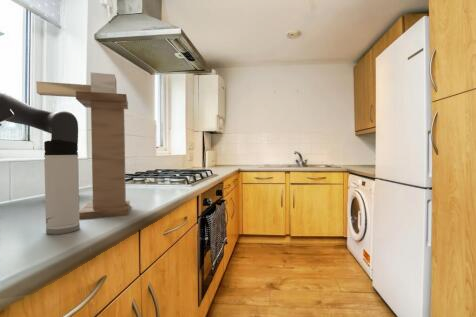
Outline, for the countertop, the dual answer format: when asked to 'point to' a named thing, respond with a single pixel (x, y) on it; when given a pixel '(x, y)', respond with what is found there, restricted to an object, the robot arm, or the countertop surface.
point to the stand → (106, 154)
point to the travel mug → (61, 186)
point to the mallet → (79, 86)
